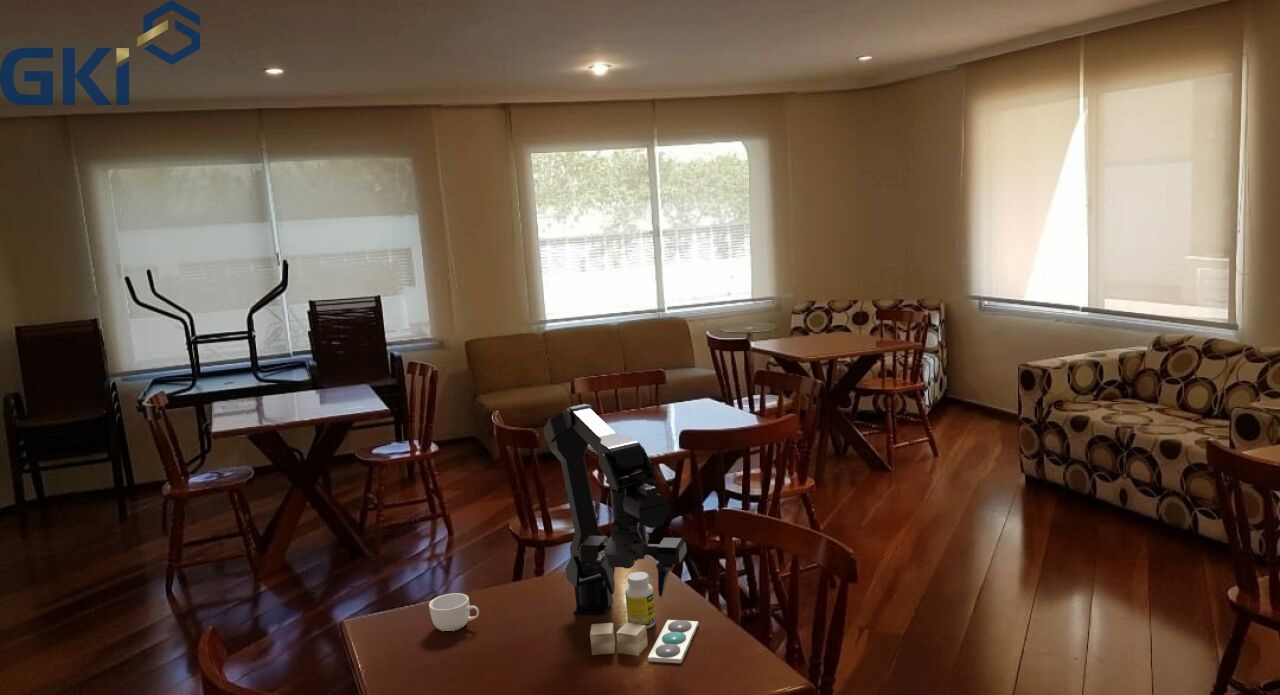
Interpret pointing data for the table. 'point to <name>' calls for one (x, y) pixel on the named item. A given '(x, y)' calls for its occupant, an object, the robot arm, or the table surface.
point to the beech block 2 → (632, 639)
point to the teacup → (451, 611)
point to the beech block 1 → (602, 638)
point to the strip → (673, 641)
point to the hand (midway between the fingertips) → (636, 594)
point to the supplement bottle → (640, 600)
